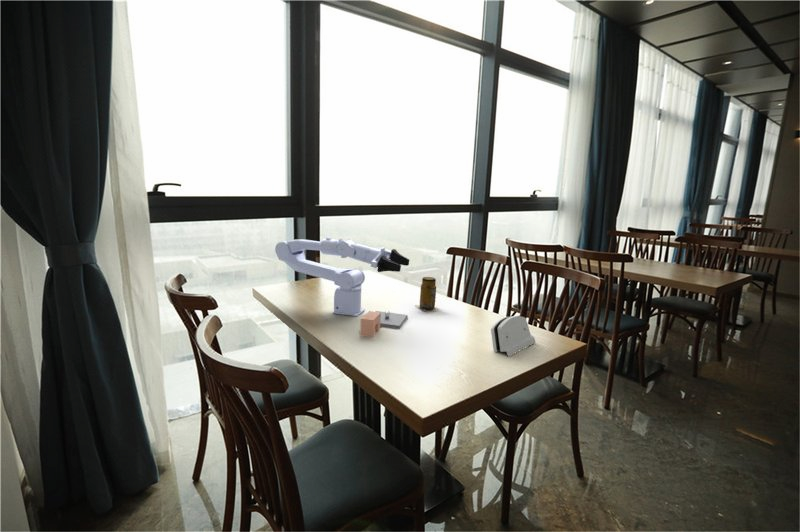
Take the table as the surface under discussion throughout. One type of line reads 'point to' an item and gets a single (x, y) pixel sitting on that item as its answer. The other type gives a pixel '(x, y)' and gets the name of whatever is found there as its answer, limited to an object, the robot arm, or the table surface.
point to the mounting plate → (392, 320)
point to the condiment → (428, 295)
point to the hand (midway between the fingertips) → (404, 265)
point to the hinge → (511, 334)
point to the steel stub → (387, 314)
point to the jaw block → (370, 323)
